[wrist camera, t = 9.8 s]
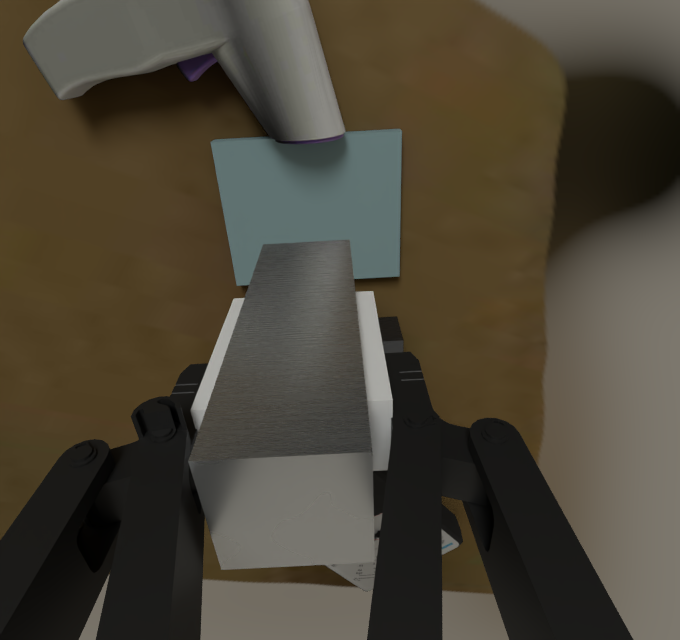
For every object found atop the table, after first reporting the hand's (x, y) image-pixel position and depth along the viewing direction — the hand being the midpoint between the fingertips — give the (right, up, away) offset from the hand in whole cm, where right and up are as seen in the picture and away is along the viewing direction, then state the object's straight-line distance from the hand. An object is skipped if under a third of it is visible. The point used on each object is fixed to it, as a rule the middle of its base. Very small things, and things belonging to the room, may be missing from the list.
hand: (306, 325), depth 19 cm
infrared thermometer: (-7, +15, +10) cm, 19 cm away
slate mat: (0, +8, +14) cm, 16 cm away
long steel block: (0, +2, +4) cm, 4 cm away
